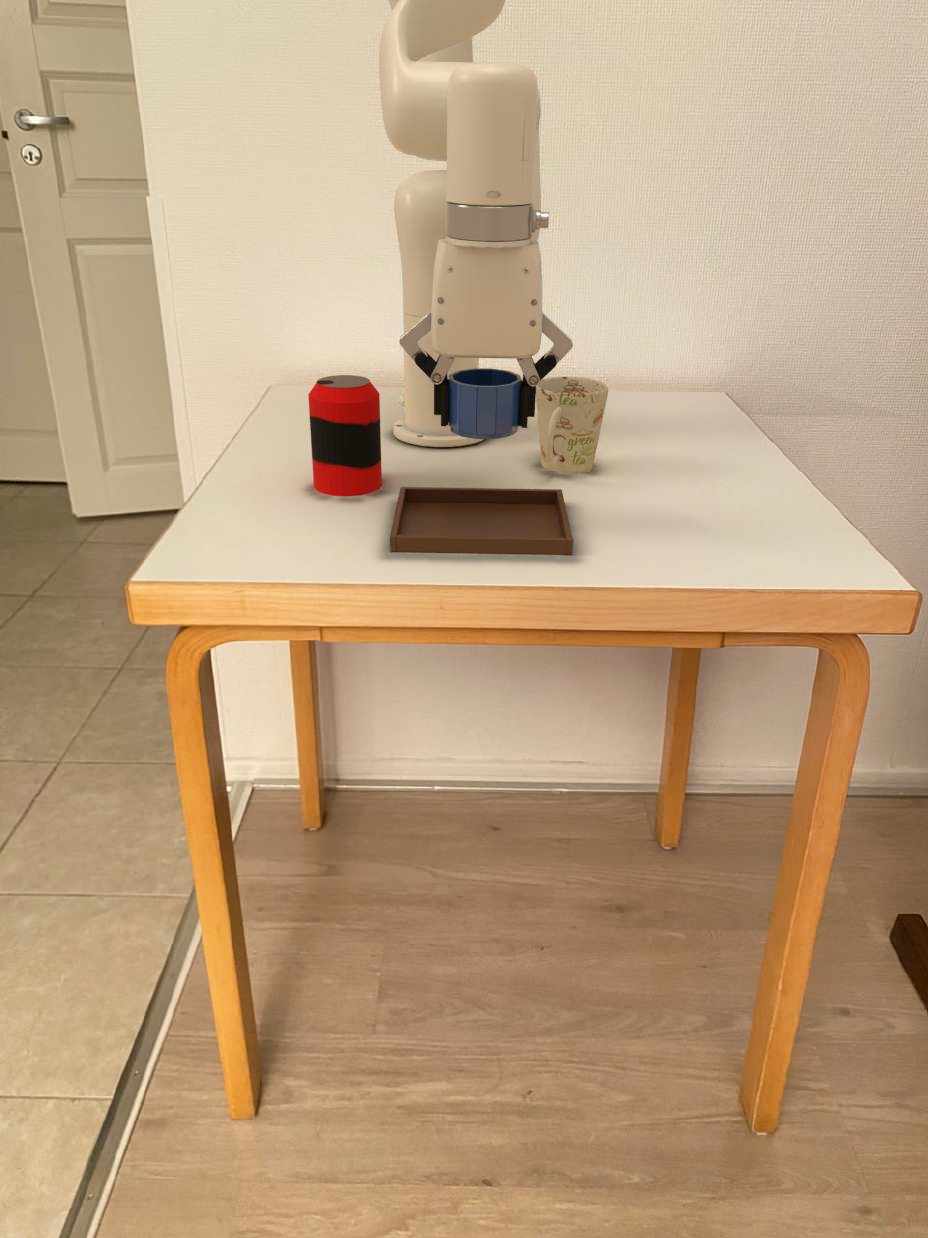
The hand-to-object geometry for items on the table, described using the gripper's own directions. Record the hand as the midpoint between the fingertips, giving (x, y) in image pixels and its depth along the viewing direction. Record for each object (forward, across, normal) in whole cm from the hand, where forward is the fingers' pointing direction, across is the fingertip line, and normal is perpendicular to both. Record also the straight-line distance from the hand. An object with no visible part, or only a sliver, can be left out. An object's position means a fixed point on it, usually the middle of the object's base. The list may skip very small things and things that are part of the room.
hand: (483, 421), depth 94 cm
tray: (+11, 0, +1) cm, 11 cm away
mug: (+12, -10, -18) cm, 23 cm away
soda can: (+11, +15, -11) cm, 22 cm away
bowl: (+1, 0, 0) cm, 1 cm away
